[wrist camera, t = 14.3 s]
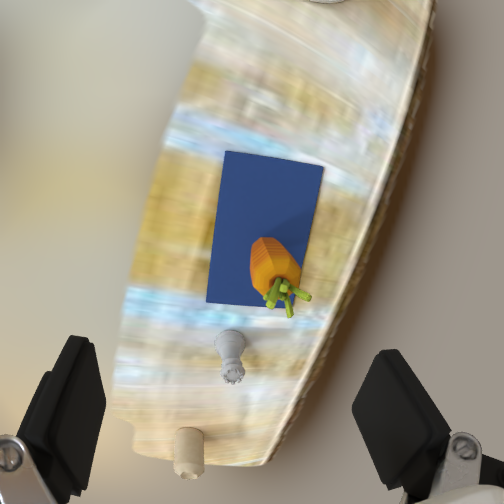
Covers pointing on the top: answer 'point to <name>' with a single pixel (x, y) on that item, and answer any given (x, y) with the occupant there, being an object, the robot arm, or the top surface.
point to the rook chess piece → (230, 355)
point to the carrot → (275, 273)
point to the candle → (189, 453)
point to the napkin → (258, 220)
